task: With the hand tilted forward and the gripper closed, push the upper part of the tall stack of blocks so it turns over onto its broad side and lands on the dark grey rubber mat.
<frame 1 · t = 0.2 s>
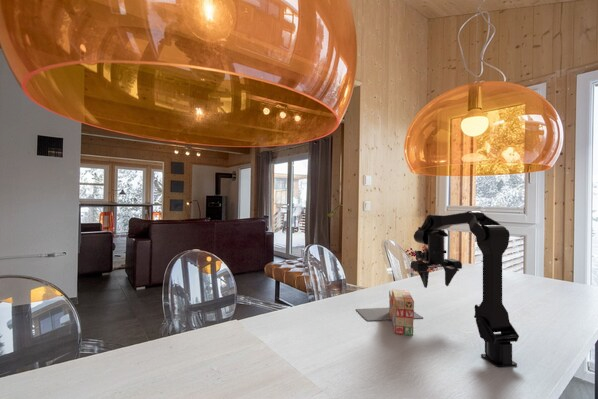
hand: (436, 286, 114), 14 cm above the table, tool pointing down, fingers open, 9 cm apart
stack of blocks: (400, 323, 113), on the table, touching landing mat
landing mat: (388, 314, 123), on the table
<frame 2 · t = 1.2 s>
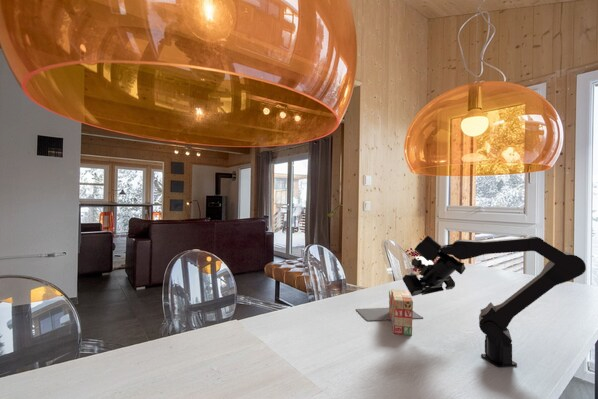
hand: (416, 294, 105), 14 cm above the table, tool tilted 45°, fingers open, 4 cm apart
nothing on the table moved.
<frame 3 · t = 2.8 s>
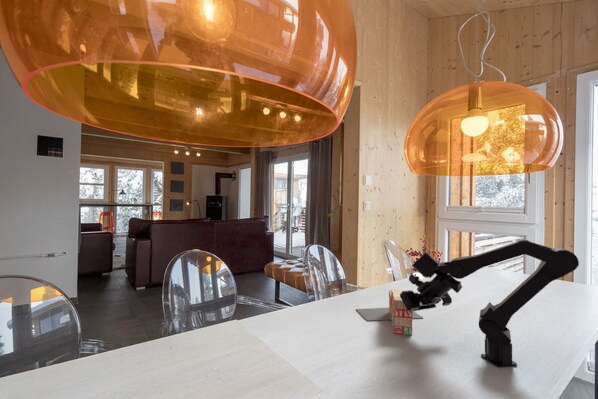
hand: (413, 309, 106), 8 cm above the table, tool tilted 45°, fingers closed
stack of blocks: (399, 322, 113), on the table, touching gripper, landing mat
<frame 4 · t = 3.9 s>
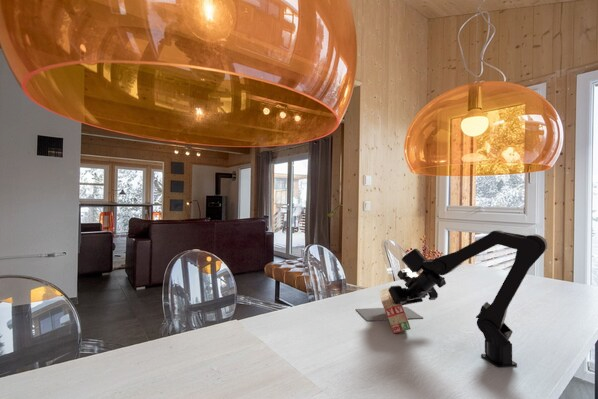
hand: (402, 303, 112), 8 cm above the table, tool tilted 45°, fingers closed
stack of blocks: (399, 320, 113), point 1 cm above the table, touching gripper, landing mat
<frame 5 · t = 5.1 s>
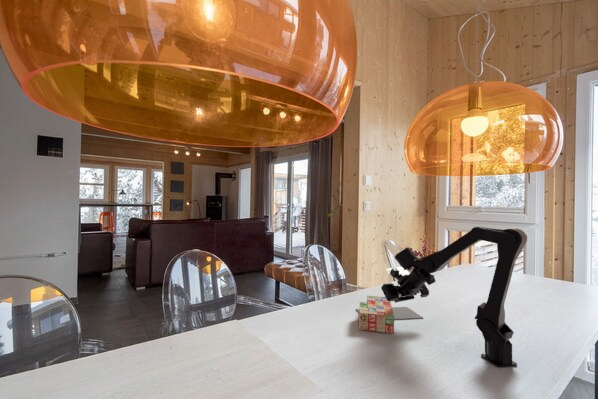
hand: (395, 301, 116), 8 cm above the table, tool tilted 45°, fingers closed
stack of blocks: (391, 313, 114), point 3 cm above the table, touching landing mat
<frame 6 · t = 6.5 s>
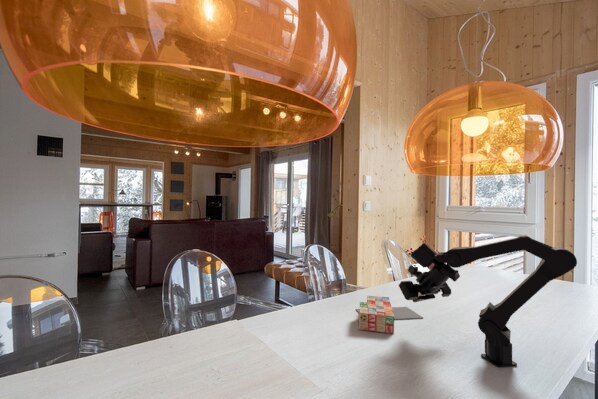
hand: (413, 301, 107), 11 cm above the table, tool tilted 45°, fingers closed
nothing on the table moved.
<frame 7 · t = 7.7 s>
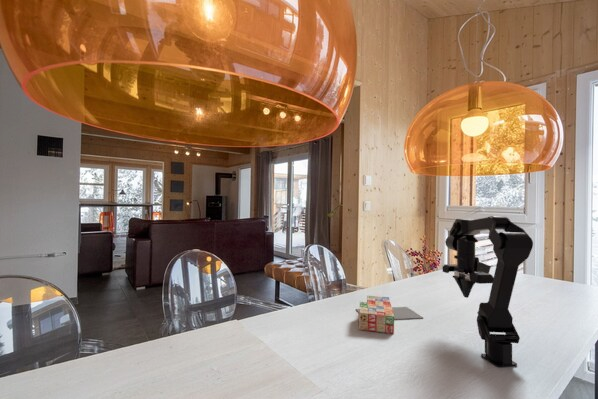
hand: (466, 297, 105), 13 cm above the table, tool pointing down, fingers closed
nothing on the table moved.
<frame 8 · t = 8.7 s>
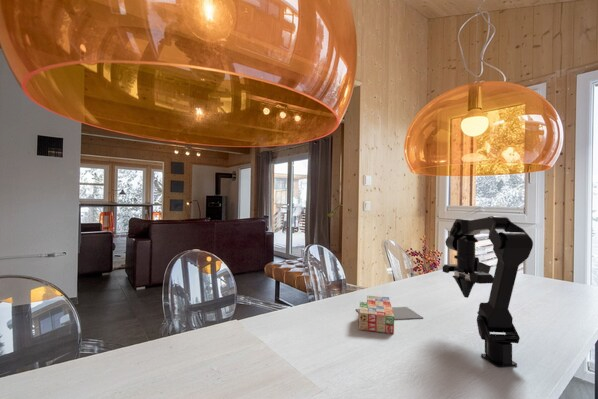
hand: (466, 297, 105), 13 cm above the table, tool pointing down, fingers closed
nothing on the table moved.
at the end: stack of blocks tilted 89°; stack of blocks inside the target area (7.0 cm from its centre), point 3.4 cm above the table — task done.
